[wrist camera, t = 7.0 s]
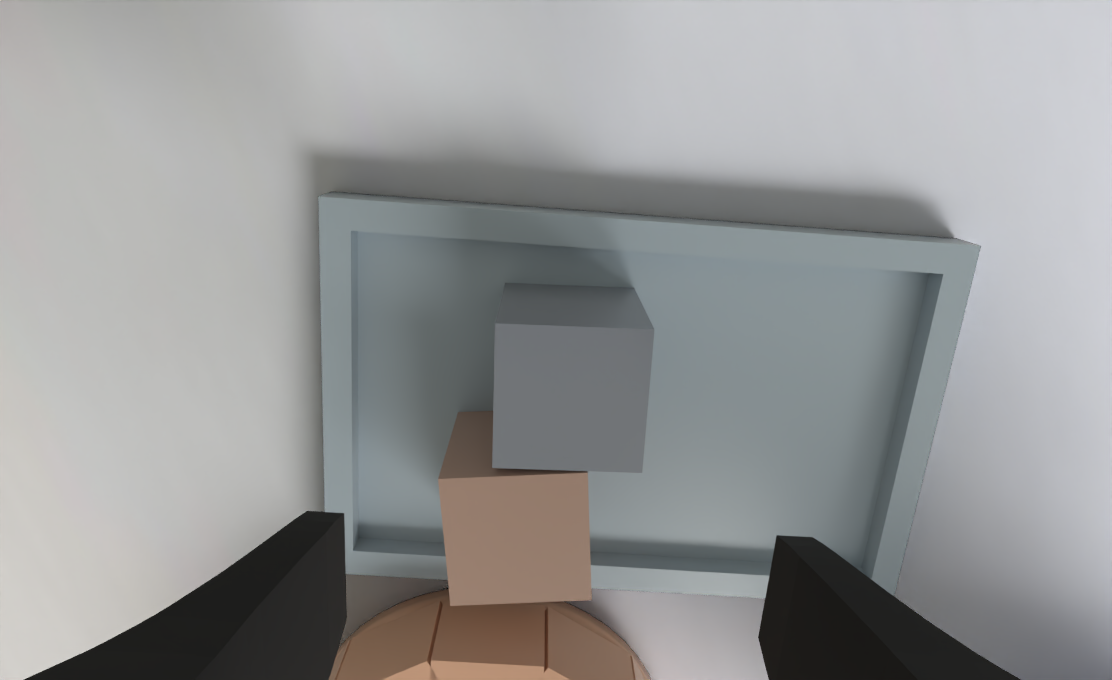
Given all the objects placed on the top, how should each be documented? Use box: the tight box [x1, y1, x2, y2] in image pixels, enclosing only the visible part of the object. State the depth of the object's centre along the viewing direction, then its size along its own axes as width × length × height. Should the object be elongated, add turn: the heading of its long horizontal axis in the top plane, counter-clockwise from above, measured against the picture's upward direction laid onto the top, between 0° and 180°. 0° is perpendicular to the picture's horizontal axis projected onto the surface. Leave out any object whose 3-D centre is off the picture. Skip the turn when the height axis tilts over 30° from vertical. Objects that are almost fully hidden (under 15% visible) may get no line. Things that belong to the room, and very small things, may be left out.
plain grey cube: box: [492, 283, 654, 473], centre depth 19 cm, size 4×4×4 cm
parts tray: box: [318, 192, 981, 599], centre depth 21 cm, size 17×11×1 cm, turn 86°
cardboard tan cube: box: [438, 411, 592, 606], centre depth 20 cm, size 4×4×4 cm
